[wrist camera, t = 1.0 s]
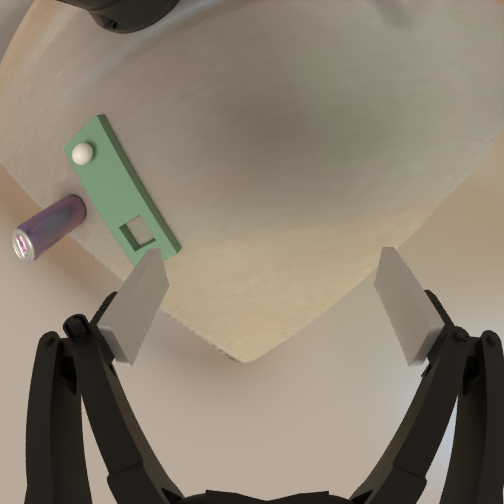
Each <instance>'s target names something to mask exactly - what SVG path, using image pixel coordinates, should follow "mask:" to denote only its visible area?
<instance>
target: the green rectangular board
mask: <svg viewBox="0 0 504 504" xmlns="http://www.w3.org/2000/svg"><path fill="white" fill-rule="evenodd" d="M80 143H88V144H89V145H90V146H91V147H92V149H93V156H92V158H91V160H90V161H89V162H88V163H87V164H84V165H78V164H76V163H75V162H74V161H73V158H72V152H73V149H74V148H75V147H76V146H77V145H78V144H80ZM64 151H65V153H66V155H67V156H68V158H69V160H70V162H71V164H72V166H73V168H74V170H75V172H76V174H77V176H78V177H79V179H80V181H81V183H82V185H83V186H84V188H85V190H86V192H87V193H88V195H89V197H90V199H91V200H92V202H93V204H94V205H95V207H96V209H97V210H98V212H99V214H100V215H101V217H102V219H103V220H104V222H105V223H106V225H107V226H108V228H109V230H110V231H111V233H112V234H113V236H114V237H115V239H116V240H117V242H118V243H119V245H120V246H121V248H122V249H123V251H124V252H125V254H126V255H127V257H128V258H129V260H130V261H131V262H132V264H133V265H134V267H136V266H137V264H138V263H139V261H140V260H141V259H142V257H143V256H144V255H145V253H146V252H147V250H148V249H158V248H160V250H161V254H162V259H163V260H165V259H167V258H169V257H171V256H173V255H175V254H178V252H179V250H180V249H181V247H180V245H179V244H178V242H177V241H176V239H175V238H174V236H173V234H172V233H171V231H170V230H169V228H168V226H167V225H166V223H165V222H164V220H163V218H162V217H161V215H160V214H159V212H158V210H157V209H156V207H155V205H154V204H153V202H152V200H151V199H150V197H149V195H148V194H147V192H146V190H145V189H144V187H143V185H142V183H141V182H140V180H139V178H138V177H137V175H136V173H135V171H134V170H133V168H132V166H131V164H130V163H129V161H128V159H127V157H126V155H125V154H124V152H123V150H122V148H121V146H120V145H119V143H118V141H117V139H116V137H115V135H114V133H113V131H112V130H111V128H110V126H109V124H108V122H107V120H106V118H105V116H104V115H97V116H96V117H95V118H93V119H92V120H91V121H90V122H89V123H88V124H87V125H86V126H85V127H84V128H83V129H82V130H81V131H80V132H79V133H78V134H77V135H76V136H75V137H74V138H73V139H72V140H71V141H70V142H69V143H68V144H67V145H66V146H65V147H64ZM138 215H140V216H141V217H142V219H143V220H144V222H145V224H146V225H147V227H148V228H149V230H150V231H151V233H152V235H153V236H154V239H152V240H151V241H149V242H147V243H145V244H143V245H141V246H139V245H138V243H137V242H136V240H135V239H134V237H133V236H132V234H131V233H130V231H129V229H128V228H127V226H126V225H125V223H127V222H128V221H130V220H131V219H133V218H135V217H136V216H138Z"/></svg>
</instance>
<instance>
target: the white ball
mask: <svg viewBox="0 0 504 504" xmlns="http://www.w3.org/2000/svg"><path fill="white" fill-rule="evenodd" d="M92 156H93V149H92V147H91V146H90V145H89V144H88V143H80V144H78V145H77V146H76V147H75V148H74V149H73V152H72V158H73V161H74V162H75V163H76V164H78V165H84V164H87V163H88V162H89V161H90V160H91V158H92Z"/></svg>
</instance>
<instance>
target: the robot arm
mask: <svg viewBox="0 0 504 504" xmlns="http://www.w3.org/2000/svg"><path fill="white" fill-rule="evenodd" d="M57 1H60V2H64V3H67V4H70V5H74V6H77V7H80V8H83V9H86V10H87V11H88V12H89V13H90V15H91V16H92V17H93V19H94V20H95V21H96V23H97V24H98V25H99V26H101V27H102V28H104V29H106V30H109V31H112V32H115V33H131V32H135V31H138V30H141V29H144V28H146V27H148V26H150V25H152V24H154V23H155V22H157V21H158V20H160V19H161V18H162V17H164V16H165V15H166V14H167V13H168V12H169V11H170V10H171V9H172V8H173V7H174V6H175V4H176V3H177V2H178V0H57ZM374 286H375V288H376V290H377V292H378V295H379V297H380V299H381V301H382V303H383V305H384V307H385V310H386V312H387V314H388V316H389V318H390V321H391V323H392V325H393V328H394V330H395V332H396V335H397V337H398V340H399V342H400V345H401V347H402V350H403V352H404V355H405V357H406V360H407V363H408V365H409V367H414V366H419V365H422V364H423V362H424V361H425V359H426V357H427V358H428V360H429V364H428V366H427V367H426V369H425V371H424V372H423V374H422V375H421V377H423V378H422V380H421V383H420V385H419V387H418V389H417V392H416V394H415V396H414V399H413V400H412V403H411V405H410V407H409V409H408V411H407V413H406V415H405V417H404V419H403V421H402V422H401V424H400V426H399V428H398V430H397V432H396V433H395V435H394V437H393V439H392V440H391V442H390V444H389V446H388V447H387V449H386V451H385V452H384V454H383V455H382V457H381V458H380V460H379V461H378V463H377V465H376V466H375V468H374V469H373V471H372V472H371V473H370V475H369V476H368V478H367V479H366V480H365V481H364V482H363V484H361V485H360V487H358V489H357V490H356V491H355V492H354V493H353V494H352V496H351V497H350V498H349V499H345V498H342V497H339V496H335V495H329V491H323V492H313V493H301V494H300V493H299V494H296V495H291V496H288V497H283V498H280V499H275V500H269V501H265V500H260V499H256V498H252V497H248V496H244V495H241V494H237V493H230V492H221V491H212V490H206V493H203V494H197V495H193V496H189V497H186V498H185V497H184V496H183V494H182V493H181V492H180V490H179V489H178V488H177V486H176V485H175V484H174V483H173V482H172V481H171V480H170V478H169V477H168V475H167V474H166V472H165V471H164V469H163V467H162V466H161V464H160V463H159V461H158V459H157V457H156V456H155V454H154V452H153V450H152V449H151V447H150V445H149V443H148V441H147V439H146V438H145V436H144V434H143V432H142V430H141V428H140V426H139V424H138V422H137V420H136V418H135V416H134V413H133V411H132V409H131V407H130V405H129V402H128V400H127V398H126V396H125V393H124V391H123V388H122V386H121V384H120V381H119V379H118V376H117V373H116V371H115V368H114V366H113V364H112V361H113V359H114V357H115V359H116V361H117V362H118V364H119V365H124V366H129V367H132V365H133V363H134V361H135V358H136V356H137V354H138V351H139V349H140V347H141V345H142V343H143V340H144V338H145V336H146V334H147V331H148V329H149V327H150V325H151V323H152V320H153V318H154V316H155V314H156V312H157V310H158V308H159V306H160V304H161V302H162V300H163V297H164V295H165V293H166V291H167V289H168V287H169V283H168V279H167V275H166V271H165V267H164V263H163V259H162V254H161V250H160V248H158V249H148V250H147V252H146V253H145V255H144V256H143V257H142V259H141V260H140V261H139V263H138V264H137V266H136V267H135V268H134V270H133V271H132V273H131V274H130V275H129V277H128V278H127V280H126V281H125V283H124V284H123V286H122V287H121V288H120V290H119V291H118V292H113V293H111V294H110V295H109V296H108V297H107V298H106V299H105V300H104V302H103V303H102V305H101V306H100V308H99V310H98V311H97V312H96V314H95V315H94V317H93V318H92V320H91V321H90V323H89V322H88V320H87V318H86V317H85V315H83V314H76V315H73V316H71V317H69V318H68V319H67V320H66V321H65V322H64V324H63V330H64V332H65V333H66V335H67V337H68V338H60V337H59V335H58V334H57V333H56V332H54V331H50V332H48V333H45V334H44V335H43V336H42V337H41V338H40V340H39V343H38V347H37V352H36V356H35V361H34V367H33V372H32V379H31V385H30V392H29V401H28V411H27V423H26V475H27V490H26V496H25V502H24V504H92V499H91V492H90V487H89V481H88V476H87V469H86V462H85V454H84V444H83V433H82V413H81V395H82V398H83V402H84V405H85V409H86V412H87V415H88V419H89V422H90V425H91V428H92V431H93V434H94V437H95V439H96V442H97V445H98V447H99V450H100V452H101V455H102V457H103V460H104V462H105V464H106V467H107V469H108V472H109V475H108V477H107V483H108V485H109V488H110V490H111V492H112V494H113V496H114V498H115V500H116V502H117V503H118V504H416V502H417V501H418V499H419V498H420V496H421V494H422V492H423V491H424V488H425V486H426V483H427V480H426V478H425V476H426V473H427V471H428V469H429V467H430V465H431V463H432V461H433V459H434V456H435V454H436V452H437V450H438V448H439V445H440V443H441V441H442V438H443V436H444V433H445V431H446V428H447V425H448V423H449V420H450V417H451V414H452V411H453V408H454V405H455V402H456V399H457V395H458V402H457V403H458V404H457V415H456V425H455V434H454V440H453V447H452V453H451V458H450V463H449V468H448V472H447V477H446V481H445V485H444V488H443V492H442V495H441V499H440V503H439V504H503V486H504V355H503V349H502V344H501V340H500V338H499V336H498V335H497V334H496V333H495V332H493V331H491V330H486V331H484V332H483V333H482V335H481V337H480V338H478V337H470V336H469V334H468V333H467V331H465V330H464V329H463V328H461V327H458V326H454V324H453V322H452V321H451V319H450V317H449V316H448V314H447V313H446V311H445V309H443V307H442V305H441V303H440V302H439V300H438V299H437V297H436V296H435V295H434V294H433V293H432V292H431V291H430V290H423V288H422V287H421V285H420V284H419V282H418V281H417V279H416V278H415V276H414V275H413V273H412V272H411V270H410V269H409V267H408V266H407V265H406V263H405V262H404V261H403V259H402V258H401V257H400V255H399V254H398V252H397V251H396V249H395V248H394V247H382V252H381V257H380V261H379V266H378V270H377V274H376V279H375V283H374Z"/></svg>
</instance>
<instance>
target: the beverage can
mask: <svg viewBox="0 0 504 504" xmlns="http://www.w3.org/2000/svg"><path fill="white" fill-rule="evenodd" d="M84 217H85V208H84V205H83V203H82V201H81V200H80V199H79V198H78V197H76V196H73V195H69V196H66V197H65V198H63V199H61V200H59V201H58V202H56V203H54V204H53V205H51V206H49V207H48V208H46V209H44V210H43V211H41V212H39V213H38V214H36V215H35V216H33V217H32V218H30V219H28V220H27V221H25V222H24V223H22V224H21V225H20V226H18V227H17V229H16V230H14V232H13V234H12V243H13V247H14V249H15V251H16V253H17V255H18V256H19V257H20V259H22V260H23V261H24V262H26V263H31V262H32V261H34V260H36V259H37V258H39V257H40V256H41V255H42V254H43V253H45V252H46V251H47V250H48V249H49V248H51V247H52V246H53V245H54V244H55V243H57V242H58V241H59V240H60V239H62V238H63V237H64V236H65V235H67V234H68V233H69V232H71V231H72V230H73V229H75V228H76V227H77V226H79V225H80V224H81V223H82V222H83V220H84Z"/></svg>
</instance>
